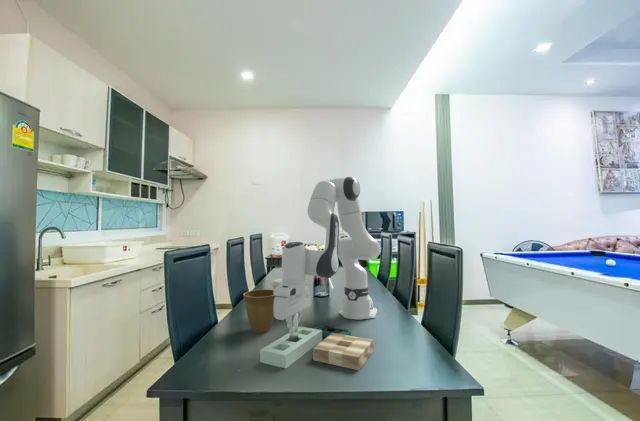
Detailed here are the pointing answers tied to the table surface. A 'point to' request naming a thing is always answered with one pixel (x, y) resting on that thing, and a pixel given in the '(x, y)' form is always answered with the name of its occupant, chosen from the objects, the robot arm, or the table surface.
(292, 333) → the steel peg
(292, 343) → the block
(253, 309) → the plant pot
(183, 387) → the table surface
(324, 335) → the digital multimeter
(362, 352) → the socket block
